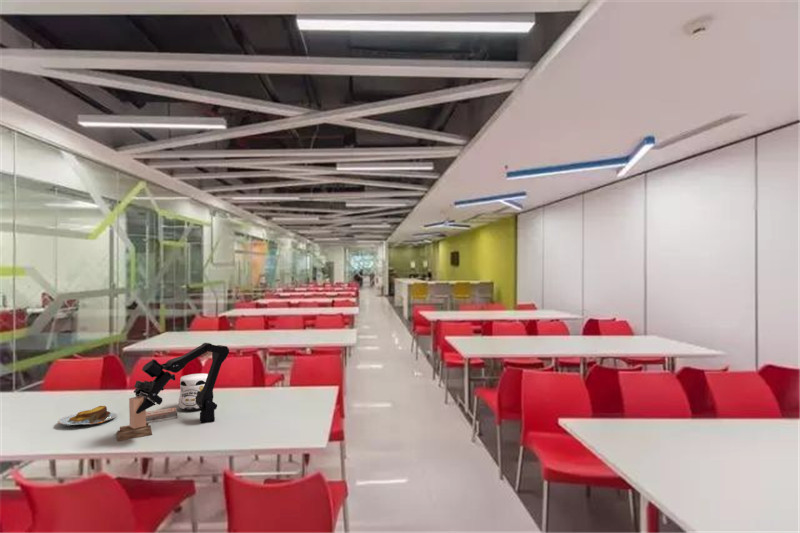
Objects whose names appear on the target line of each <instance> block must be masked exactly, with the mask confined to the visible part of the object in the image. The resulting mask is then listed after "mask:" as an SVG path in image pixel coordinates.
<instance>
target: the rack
mask: <svg viewBox="0 0 800 533" xmlns="http://www.w3.org/2000/svg"><path fill="white" fill-rule="evenodd" d="M152 435H153V431H152V426H151V425H150V424H149V423H148V422H146V426H143V427H139V428H136V429H133V428H131V427H130V424H128V425H122V426H119V430H117V432H116V441H117V442H120V441H127V440H131V439H139V438H143V437H149V436H152Z"/></svg>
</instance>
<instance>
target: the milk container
mask: <svg viewBox="0 0 800 533" xmlns="http://www.w3.org/2000/svg"><path fill="white" fill-rule="evenodd" d="M207 376H208V373H203V372H202V373H191V374H187V375H186V374H185V375H182V376H181V377H180V380H179V381H180V382H179V384H180V385H179V387H180V391H179V397H178V406H179V408H180V410H183V411H198V410H201V408H199V406H198V405H197V404H196V402H195V401H196V399H195V398H196V396H197V392H198V391H201V390H202V389H203V388H204V385H205V382H206V379H207Z"/></svg>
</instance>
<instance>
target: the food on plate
mask: <svg viewBox="0 0 800 533" xmlns="http://www.w3.org/2000/svg"><path fill="white" fill-rule="evenodd" d="M107 410H108V408H107V406H106V405H98V406H95V407H94V408H92V409H88V410H82V411H79V412H78V413H77V414H76V413H75V414H70V415H67V416H64V417H62V418H60V419H59V420H58V421H57V423H58V424H60V425H63V426H76V425H82V426H83V425H96V424H101V423H102V424H103V423H105V422H106V421H109V420H112V419H113V420H114V418H117V416H118V414H117V413H116V412H113V411H107ZM110 416H111V418H110V419H109V418H107V417H110ZM106 418H107V419H106ZM104 420H105V421H104Z"/></svg>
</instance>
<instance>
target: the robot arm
mask: <svg viewBox="0 0 800 533" xmlns="http://www.w3.org/2000/svg"><path fill="white" fill-rule="evenodd" d="M208 352H210V353H211V359H212V360H211V361H212V362H211V365H210V368H209V370H208V373H207V374H208V376H207V379H206V382H205V385H204V388H203V389H202V390H201V391H198V392H197V396H196V398H195V399H196V401H195V402H196V404H197V405H198V406H199V408H201V409H200V412H199V422H200V424H204V423H205V424H206V423H211V422H212V423H213V422H215V421H216V419H215V418H216V417H215V414H216V413H215V410H217V407H218V405H217V403H215V402H214V389H215V388H214V387H215V385H216V382H217V379H218V376H219V372H220V371H221V366H222V365H223V363H224V361H226V359H227V358H228V355H229V353H230V349H229V347H228V346H227V345H222V344H221V345H220V344H217V345H215V344H213V343H210V342H203V343H201V345H199V346H196V348H193V349H192V350H190V351H188V352H186V353H185V354H183V355H180V356H178V357H177V356H176V357H174V358H171V359H169V360H167V361H166V362H164V363H159V362H158V361H157V360H156V359H154V358H153V359H152V360H149V361H148V362H147V363H145V364H144V365H143V366H142V369H141V371H142V372H143V373H145V374H146V375H147V376H149V377H151V378H154V377H155V378H154V379H153V380H152V381H151V380H150V381H148V380H144V381H142V380H136V382H135V384H134V385H133V387H134V388H135V389H134V391H133V393H135V397H137V396H143V403H142V404H141V405H140V407H139V408H138V410H137V411H136V413H137V414H139V413H140V412H142V411H144V410H148V409H149V408H151V407H153V406H156V405H158V406H160V405H161V404H162V403H163V398H162V397H161V396H160V395H158V394H159V393H160V392H163V391H164V390H165V386H166V385H167V384H168V383H169V382H170V380H171V381H176V374H175V373H179V372H180V371H182V370H183V369H184V368H185V367H186V366H187V365H188V364H189V363H191V362H193V361H194V360H196V359H197V358H199V357H200V356H202V355H204V354H206V353H208Z"/></svg>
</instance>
